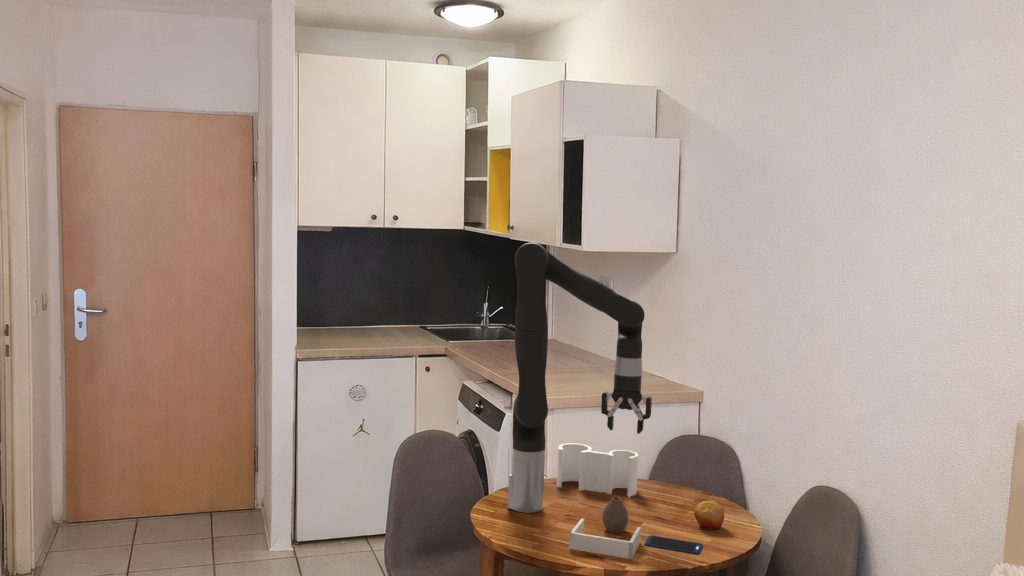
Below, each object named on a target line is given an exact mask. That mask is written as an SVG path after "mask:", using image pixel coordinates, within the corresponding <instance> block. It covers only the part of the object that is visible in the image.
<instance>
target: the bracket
mask: <svg viewBox="0 0 1024 576" xmlns="http://www.w3.org/2000/svg"><path fill="white" fill-rule="evenodd" d="M638 467H639V453H637V452H635V451H634V450H633V451H632V450H628V449H627V450H626V449H613V450H610V451H608V452H602V451H593V449H592V447H591V446H590V445H587V444H584V443H583V444H582V443H574V442H573V443H572V442H571V443H561V444H559V445H558V451H557V469H556V487H557V488H562V486H563V483H564V482H565V483H566V482H578V491H580V492H583V491H590V492H596V491H597V493H602V492H605V493H604V494H607V493H609V494H608V495H612V494H611V493H613V490H615V489H614V488H627V489H628V490H627V489H626V491H627V492H626V493H627V494H626V495H627V496H628V497H627V498H632V497H634V496H636V495H637V491H638V490H637V488H638V473H639V472H638V471H639V469H638ZM635 494H636V495H635ZM633 495H634V496H633ZM631 496H632V497H631Z"/></svg>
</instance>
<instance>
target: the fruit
mask: <svg viewBox="0 0 1024 576" xmlns="http://www.w3.org/2000/svg"><path fill="white" fill-rule="evenodd" d="M693 514H694V517H695V519H696V522H697V524H698V525H699V527H700V528H701V529H707V530H718V529H720V528H722V525H723V523H724V520H725V510H724V508H723V506H722V505H720V503H718V502H717V501H716V500H704V501H700V503H697V505H695V507H694V511H693Z"/></svg>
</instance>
